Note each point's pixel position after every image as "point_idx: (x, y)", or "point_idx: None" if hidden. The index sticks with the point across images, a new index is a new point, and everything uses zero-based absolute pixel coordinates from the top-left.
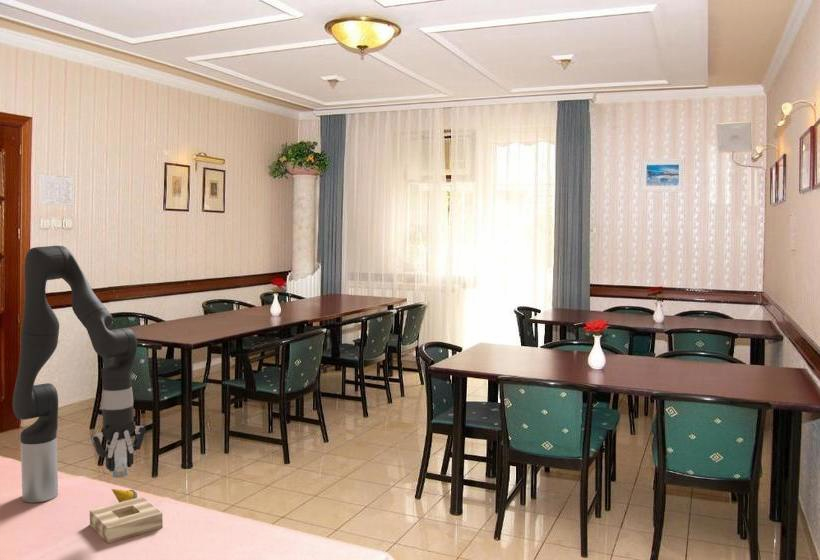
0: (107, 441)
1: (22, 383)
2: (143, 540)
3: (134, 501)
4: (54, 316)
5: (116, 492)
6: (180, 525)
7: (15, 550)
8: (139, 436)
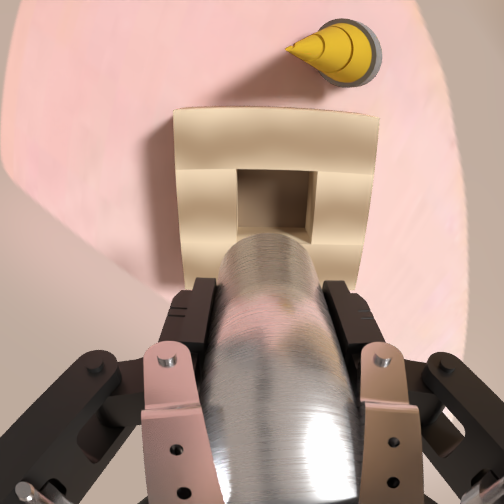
0: (150, 467)
1: None
2: None
3: (339, 140)
4: None
5: (302, 59)
6: (379, 281)
7: (12, 164)
8: (454, 489)
